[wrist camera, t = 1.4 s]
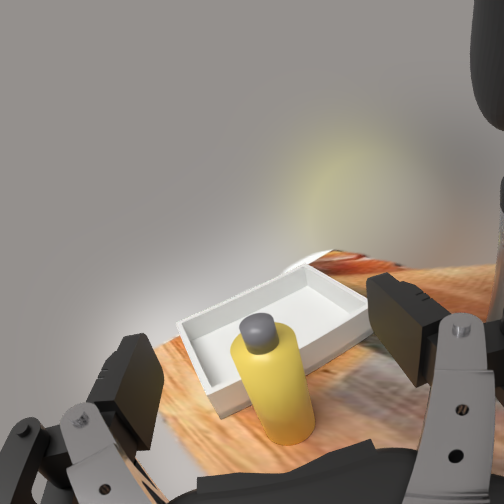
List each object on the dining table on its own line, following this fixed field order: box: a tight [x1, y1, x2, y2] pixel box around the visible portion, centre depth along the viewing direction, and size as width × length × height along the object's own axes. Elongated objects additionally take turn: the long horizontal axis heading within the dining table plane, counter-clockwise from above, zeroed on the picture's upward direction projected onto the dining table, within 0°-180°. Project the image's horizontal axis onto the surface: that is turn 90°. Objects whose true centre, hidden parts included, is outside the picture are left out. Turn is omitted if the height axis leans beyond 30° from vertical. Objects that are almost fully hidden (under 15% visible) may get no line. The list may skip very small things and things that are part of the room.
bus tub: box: [176, 263, 374, 419], centre depth 40 cm, size 22×16×4 cm
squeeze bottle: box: [230, 313, 315, 446], centre depth 25 cm, size 5×5×14 cm
